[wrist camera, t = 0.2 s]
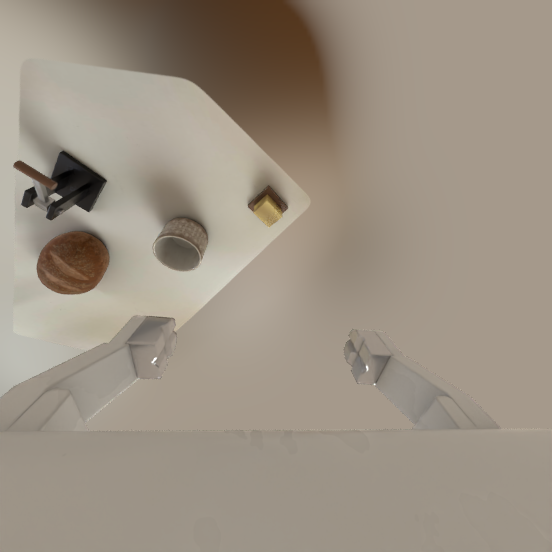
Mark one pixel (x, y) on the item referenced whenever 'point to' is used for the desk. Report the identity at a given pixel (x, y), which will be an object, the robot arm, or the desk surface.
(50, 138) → the desk surface
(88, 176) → the slicer
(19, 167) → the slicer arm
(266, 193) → the butter
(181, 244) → the planter
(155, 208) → the desk surface
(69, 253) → the bread
